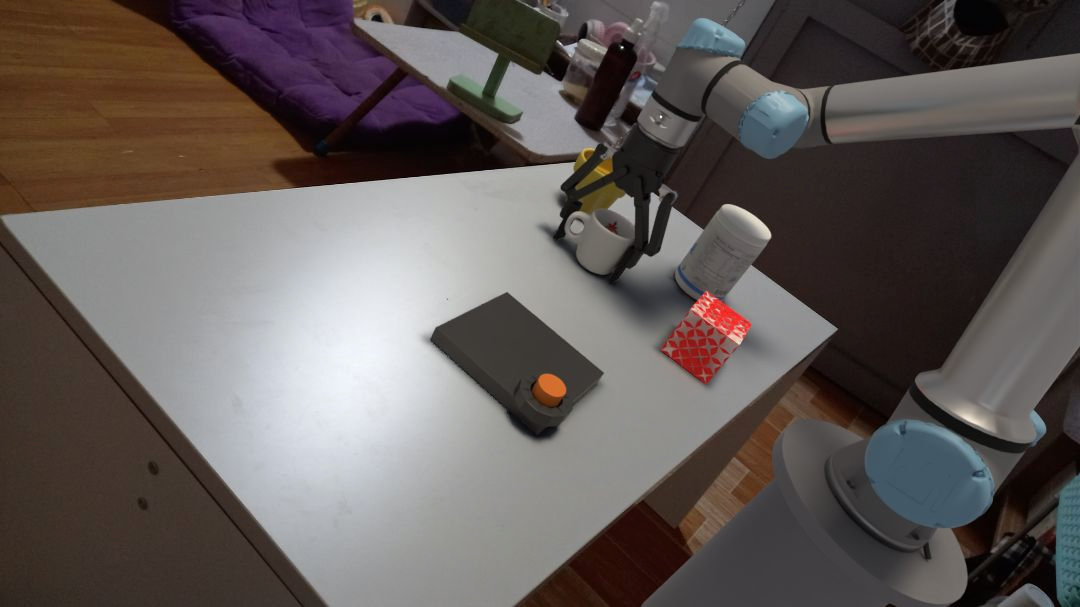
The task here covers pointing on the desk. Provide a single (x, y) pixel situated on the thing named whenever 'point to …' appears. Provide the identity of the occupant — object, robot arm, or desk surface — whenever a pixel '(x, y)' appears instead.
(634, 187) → the robot arm
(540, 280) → the desk surface
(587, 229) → the cup
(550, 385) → the button
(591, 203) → the flower pot
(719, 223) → the supplement tub
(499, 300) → the scale
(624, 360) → the desk surface
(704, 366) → the red patterned cube
